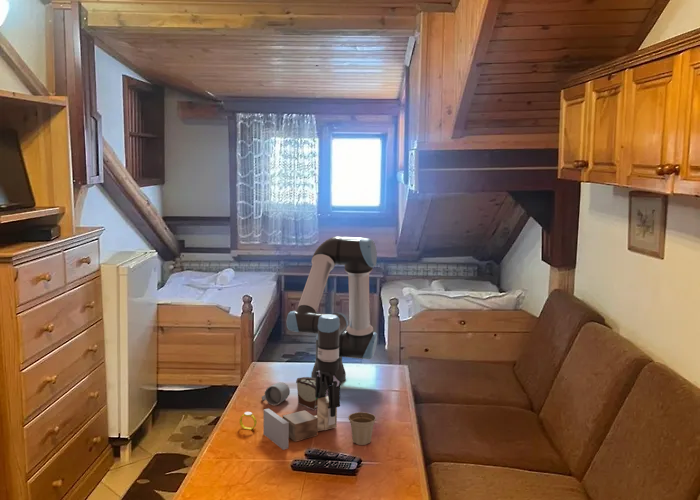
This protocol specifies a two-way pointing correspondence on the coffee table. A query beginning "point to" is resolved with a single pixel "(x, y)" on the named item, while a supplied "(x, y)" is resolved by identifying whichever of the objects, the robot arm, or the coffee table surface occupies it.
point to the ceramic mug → (276, 393)
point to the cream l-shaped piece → (324, 414)
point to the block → (301, 425)
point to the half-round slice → (307, 392)
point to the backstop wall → (276, 429)
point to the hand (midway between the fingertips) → (326, 421)
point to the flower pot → (361, 427)
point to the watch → (248, 416)
